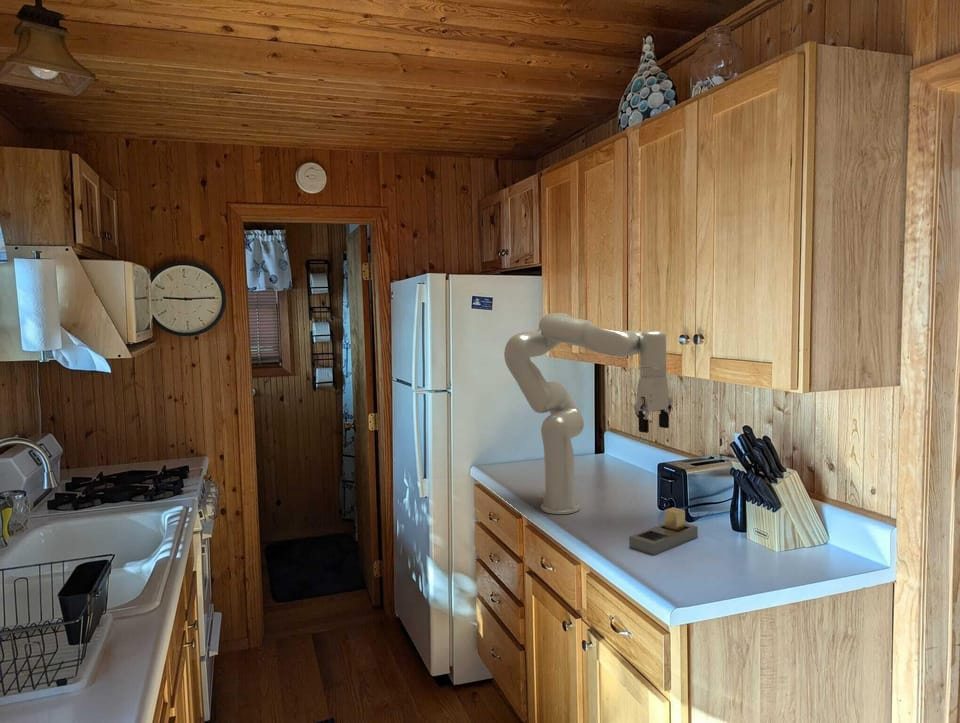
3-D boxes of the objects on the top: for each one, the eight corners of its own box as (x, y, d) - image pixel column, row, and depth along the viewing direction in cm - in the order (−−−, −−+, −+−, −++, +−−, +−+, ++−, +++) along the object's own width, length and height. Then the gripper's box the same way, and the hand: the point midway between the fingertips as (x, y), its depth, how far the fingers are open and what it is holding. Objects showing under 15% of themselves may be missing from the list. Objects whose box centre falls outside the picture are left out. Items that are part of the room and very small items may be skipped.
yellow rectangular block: (664, 537, 192) (664, 510, 191) (673, 534, 194) (672, 507, 194) (676, 541, 189) (676, 513, 188) (685, 538, 191) (684, 510, 190)
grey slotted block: (629, 547, 185) (629, 536, 185) (673, 530, 198) (673, 520, 197) (653, 555, 179) (653, 544, 179) (697, 537, 191) (697, 526, 191)
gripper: (660, 369, 210) (661, 424, 211) (624, 374, 199) (625, 432, 200) (681, 370, 204) (682, 427, 205) (645, 376, 193) (646, 435, 194)
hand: (654, 429), depth 203 cm, fingers open, 9 cm apart
